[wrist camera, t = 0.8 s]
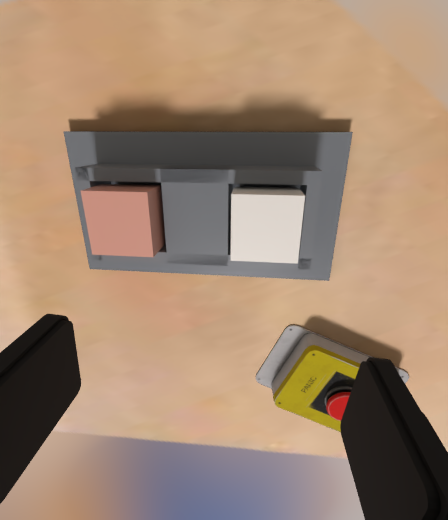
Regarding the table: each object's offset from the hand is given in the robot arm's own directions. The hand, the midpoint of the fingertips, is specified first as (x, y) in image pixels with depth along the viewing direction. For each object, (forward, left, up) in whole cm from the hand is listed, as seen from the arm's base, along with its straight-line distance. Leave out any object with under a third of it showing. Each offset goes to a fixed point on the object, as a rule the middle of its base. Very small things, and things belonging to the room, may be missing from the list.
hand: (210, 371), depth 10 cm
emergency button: (-11, +19, -20) cm, 30 cm away
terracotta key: (+9, -1, -16) cm, 19 cm away
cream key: (-2, -1, -16) cm, 17 cm away
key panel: (+3, -1, -20) cm, 20 cm away
